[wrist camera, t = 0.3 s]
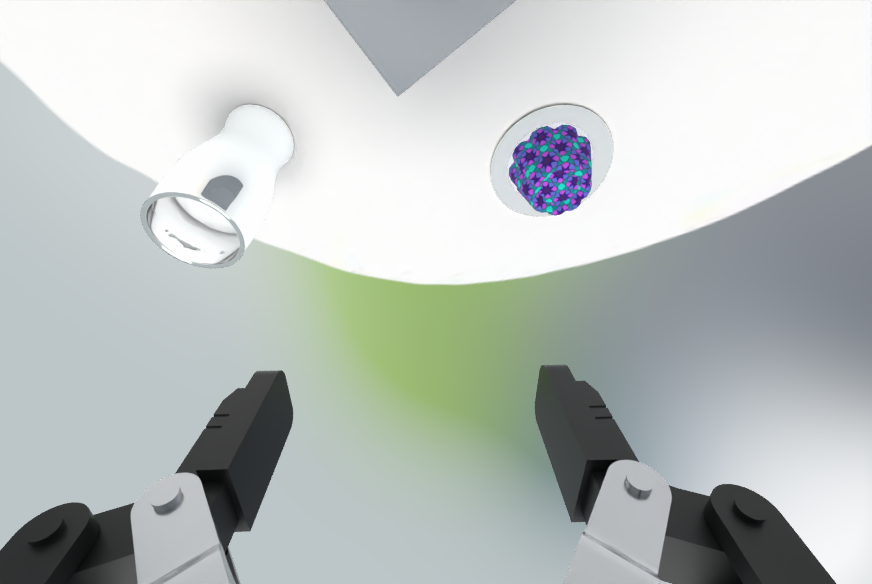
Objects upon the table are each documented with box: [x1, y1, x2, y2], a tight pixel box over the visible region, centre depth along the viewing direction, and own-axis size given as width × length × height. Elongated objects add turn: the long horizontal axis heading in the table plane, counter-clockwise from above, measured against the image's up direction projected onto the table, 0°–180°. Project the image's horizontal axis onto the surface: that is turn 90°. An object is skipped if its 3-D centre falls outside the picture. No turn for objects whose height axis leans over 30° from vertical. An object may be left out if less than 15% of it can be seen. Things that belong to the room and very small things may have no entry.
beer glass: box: [140, 104, 294, 268], centre depth 32 cm, size 7×7×15 cm
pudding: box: [490, 105, 614, 216], centre depth 38 cm, size 12×12×5 cm
